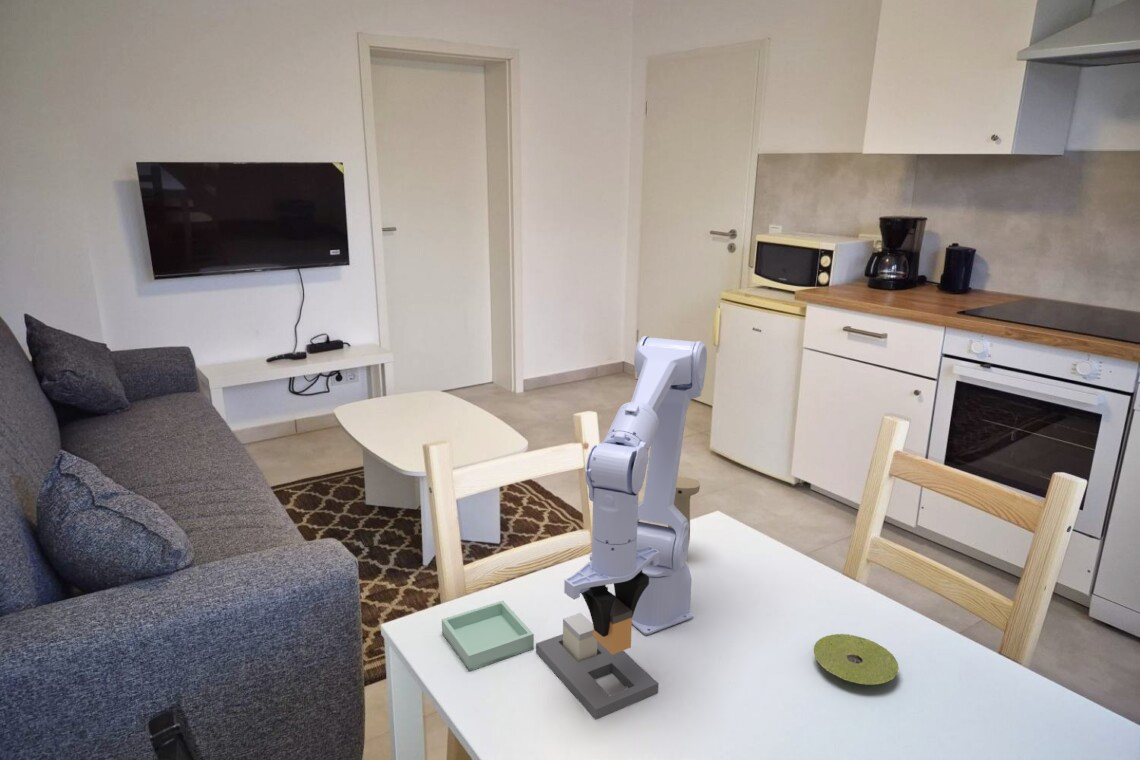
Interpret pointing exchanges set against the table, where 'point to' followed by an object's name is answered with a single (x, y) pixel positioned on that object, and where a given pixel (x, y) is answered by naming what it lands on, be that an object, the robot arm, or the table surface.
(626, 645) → the block
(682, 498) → the handle
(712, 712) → the table surface
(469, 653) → the parts tray
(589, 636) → the block
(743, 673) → the table surface
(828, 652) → the green sanding disc
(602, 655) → the block
